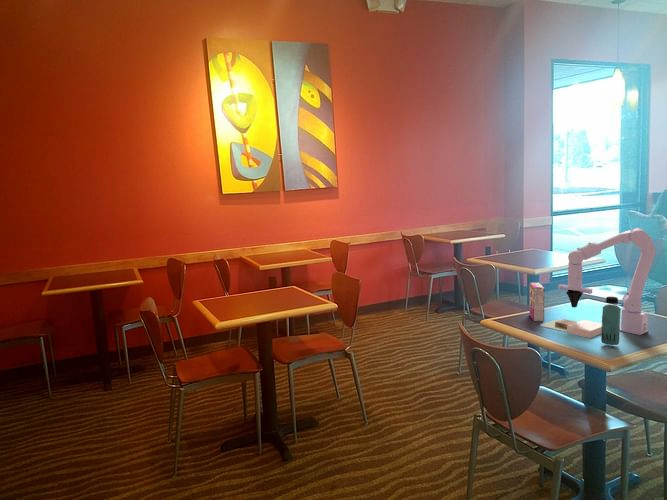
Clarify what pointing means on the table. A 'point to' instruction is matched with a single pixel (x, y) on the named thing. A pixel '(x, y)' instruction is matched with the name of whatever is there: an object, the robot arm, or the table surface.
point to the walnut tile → (564, 323)
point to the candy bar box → (536, 302)
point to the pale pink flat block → (585, 328)
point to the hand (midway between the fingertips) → (574, 306)
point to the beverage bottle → (611, 322)
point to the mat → (553, 326)
